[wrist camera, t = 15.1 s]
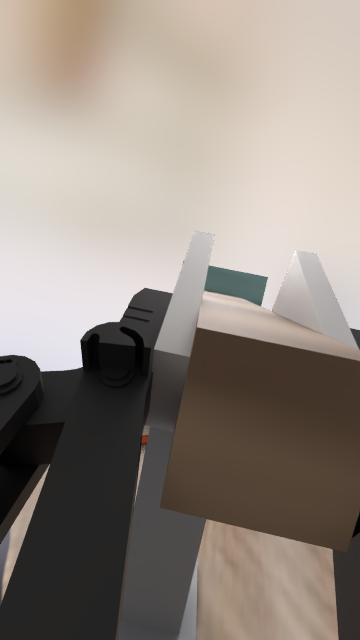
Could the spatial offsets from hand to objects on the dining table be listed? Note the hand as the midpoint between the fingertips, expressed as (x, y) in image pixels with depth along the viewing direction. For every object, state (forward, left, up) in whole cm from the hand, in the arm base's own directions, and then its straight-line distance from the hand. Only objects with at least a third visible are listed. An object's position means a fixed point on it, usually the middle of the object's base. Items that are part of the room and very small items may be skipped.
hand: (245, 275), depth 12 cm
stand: (+22, 0, -43) cm, 48 cm away
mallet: (+6, 0, -4) cm, 8 cm away
